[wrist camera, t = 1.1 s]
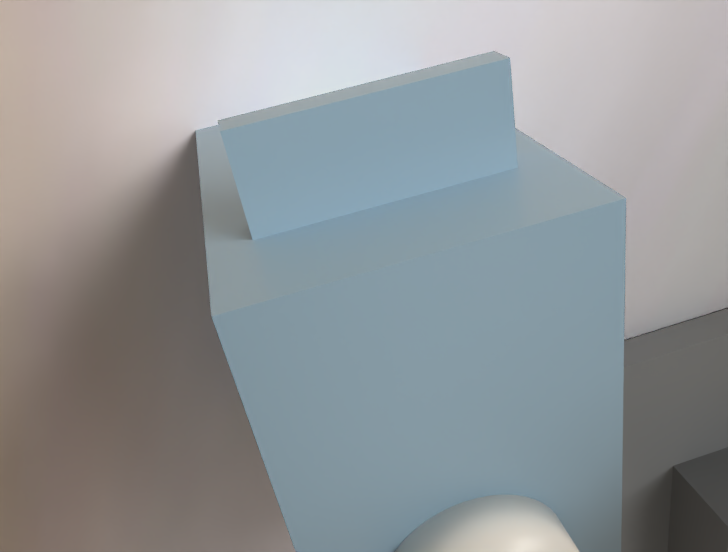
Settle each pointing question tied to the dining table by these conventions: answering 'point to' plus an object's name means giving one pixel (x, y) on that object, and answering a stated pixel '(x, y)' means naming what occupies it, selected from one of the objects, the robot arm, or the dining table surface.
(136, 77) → the dining table surface
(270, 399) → the block
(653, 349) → the chassis plate
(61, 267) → the dining table surface
